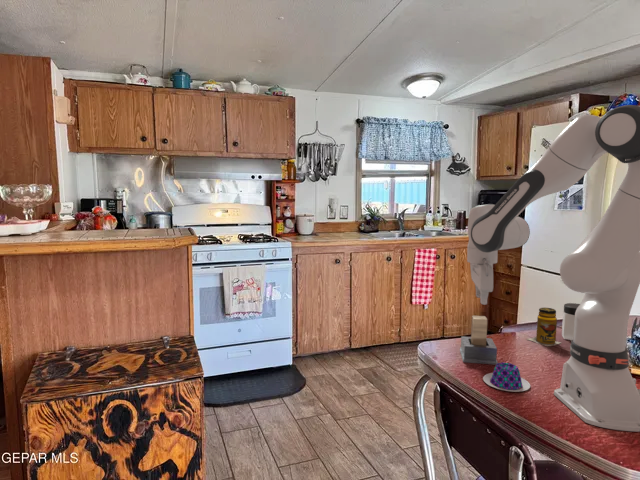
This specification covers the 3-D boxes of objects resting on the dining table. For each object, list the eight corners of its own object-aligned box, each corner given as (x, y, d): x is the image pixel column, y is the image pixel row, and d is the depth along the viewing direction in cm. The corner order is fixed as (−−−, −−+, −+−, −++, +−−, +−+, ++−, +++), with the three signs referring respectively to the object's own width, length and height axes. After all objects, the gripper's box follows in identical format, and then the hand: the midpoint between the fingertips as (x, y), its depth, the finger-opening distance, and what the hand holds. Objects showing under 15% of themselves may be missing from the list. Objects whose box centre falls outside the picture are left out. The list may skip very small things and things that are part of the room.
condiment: (548, 347, 147) (550, 312, 145) (526, 339, 154) (528, 306, 153) (561, 343, 150) (563, 310, 149) (539, 336, 157) (541, 304, 156)
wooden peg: (485, 357, 134) (487, 319, 133) (472, 356, 135) (473, 319, 134) (483, 352, 138) (485, 316, 137) (470, 351, 139) (472, 315, 138)
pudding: (528, 398, 110) (529, 378, 110) (479, 387, 116) (479, 368, 116) (532, 381, 120) (533, 363, 120) (487, 371, 126) (487, 354, 126)
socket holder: (497, 364, 131) (498, 348, 130) (463, 362, 133) (463, 346, 133) (491, 353, 141) (492, 338, 140) (459, 350, 143) (460, 335, 142)
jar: (571, 342, 151) (573, 309, 149) (555, 335, 159) (557, 303, 157) (594, 341, 152) (597, 308, 151) (577, 334, 160) (580, 302, 159)
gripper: (499, 261, 123) (498, 309, 124) (487, 253, 143) (486, 294, 144) (476, 261, 124) (475, 308, 125) (467, 252, 144) (466, 293, 145)
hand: (481, 300), depth 135 cm, fingers open, 8 cm apart
